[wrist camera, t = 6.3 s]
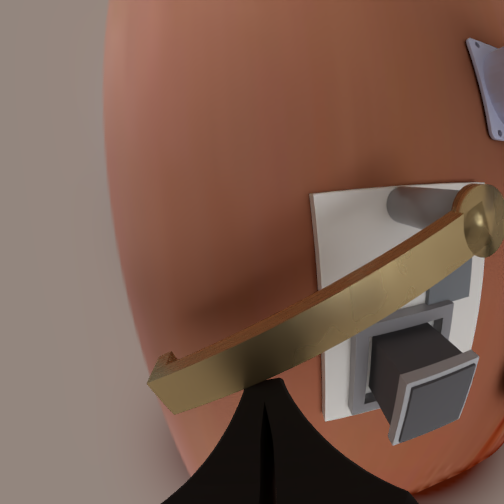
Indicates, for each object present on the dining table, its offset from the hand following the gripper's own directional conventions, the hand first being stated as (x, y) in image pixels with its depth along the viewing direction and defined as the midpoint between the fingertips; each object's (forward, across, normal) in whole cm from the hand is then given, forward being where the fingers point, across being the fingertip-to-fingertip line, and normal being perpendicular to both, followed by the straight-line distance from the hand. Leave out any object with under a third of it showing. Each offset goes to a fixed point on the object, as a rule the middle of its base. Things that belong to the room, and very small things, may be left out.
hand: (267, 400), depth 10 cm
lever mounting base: (+7, -9, +1) cm, 12 cm away
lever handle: (+1, -3, -3) cm, 5 cm away
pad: (+6, -12, -1) cm, 14 cm away
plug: (+6, -8, +4) cm, 11 cm away
